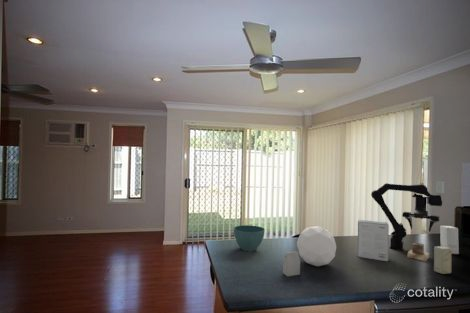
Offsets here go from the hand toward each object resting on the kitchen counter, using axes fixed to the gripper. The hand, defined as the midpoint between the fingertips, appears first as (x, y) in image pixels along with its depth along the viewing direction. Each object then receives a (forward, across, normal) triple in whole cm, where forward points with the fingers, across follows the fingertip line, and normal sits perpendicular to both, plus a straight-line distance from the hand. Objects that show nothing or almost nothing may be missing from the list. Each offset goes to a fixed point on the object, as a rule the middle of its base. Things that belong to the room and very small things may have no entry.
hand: (420, 230), depth 172 cm
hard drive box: (+13, -18, -35) cm, 41 cm away
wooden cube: (+10, +1, -14) cm, 18 cm away
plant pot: (+13, -74, -76) cm, 107 cm away
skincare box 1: (+13, +13, +14) cm, 23 cm away
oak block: (+14, +1, -14) cm, 19 cm away
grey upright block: (+13, -37, -90) cm, 98 cm away
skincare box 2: (+13, +14, -32) cm, 37 cm away
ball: (+13, -35, -69) cm, 78 cm away
